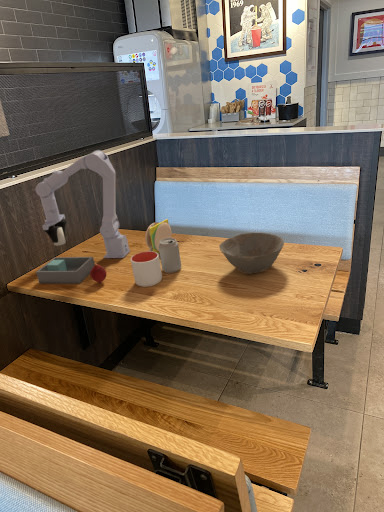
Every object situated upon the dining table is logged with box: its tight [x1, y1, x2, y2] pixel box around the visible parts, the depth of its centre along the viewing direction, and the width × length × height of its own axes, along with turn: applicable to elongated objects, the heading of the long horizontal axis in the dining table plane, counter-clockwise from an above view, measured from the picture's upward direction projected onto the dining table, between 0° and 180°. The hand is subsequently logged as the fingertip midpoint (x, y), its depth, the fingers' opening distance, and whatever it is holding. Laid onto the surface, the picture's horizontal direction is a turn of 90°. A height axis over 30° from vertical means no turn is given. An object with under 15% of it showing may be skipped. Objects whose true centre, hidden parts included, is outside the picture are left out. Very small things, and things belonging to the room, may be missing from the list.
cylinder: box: [53, 226, 66, 247], centre depth 170 cm, size 5×5×7 cm
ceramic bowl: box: [218, 232, 285, 274], centre depth 141 cm, size 22×23×10 cm
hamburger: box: [144, 218, 173, 254], centre depth 169 cm, size 12×8×12 cm
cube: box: [46, 260, 67, 271], centre depth 157 cm, size 5×5×5 cm
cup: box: [130, 250, 163, 288], centre depth 142 cm, size 10×10×10 cm
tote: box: [35, 256, 95, 285], centre depth 156 cm, size 18×14×5 cm
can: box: [158, 237, 182, 274], centre depth 149 cm, size 8×8×12 cm
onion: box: [89, 262, 108, 284], centre depth 146 cm, size 6×6×8 cm
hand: (59, 239), depth 170 cm, fingers closed on cylinder, 5 cm apart
